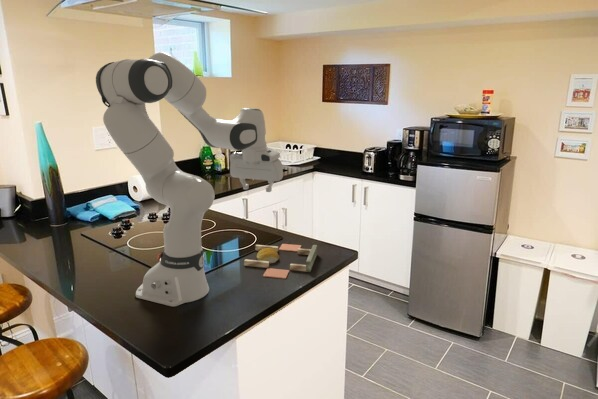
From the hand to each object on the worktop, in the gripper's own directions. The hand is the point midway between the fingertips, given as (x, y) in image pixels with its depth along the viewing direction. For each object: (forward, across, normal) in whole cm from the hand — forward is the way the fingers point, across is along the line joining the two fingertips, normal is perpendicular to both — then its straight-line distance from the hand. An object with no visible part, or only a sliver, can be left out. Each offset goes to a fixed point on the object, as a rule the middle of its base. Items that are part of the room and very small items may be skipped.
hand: (257, 190), depth 153 cm
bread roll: (+26, +4, -3) cm, 27 cm away
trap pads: (+26, +9, -2) cm, 28 cm away
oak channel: (+26, +9, -2) cm, 28 cm away
